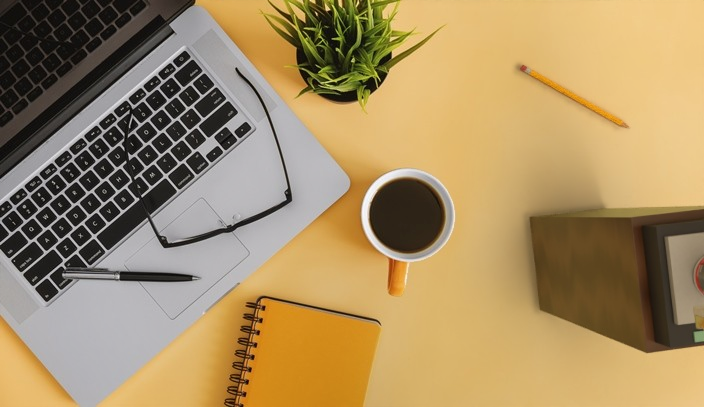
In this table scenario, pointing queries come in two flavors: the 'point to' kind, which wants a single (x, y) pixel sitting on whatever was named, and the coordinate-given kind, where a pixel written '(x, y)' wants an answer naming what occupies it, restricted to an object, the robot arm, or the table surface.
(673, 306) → the scale
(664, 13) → the table surface
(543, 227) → the riser
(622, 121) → the pencil
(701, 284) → the pill bottle
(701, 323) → the robot arm
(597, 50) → the table surface
